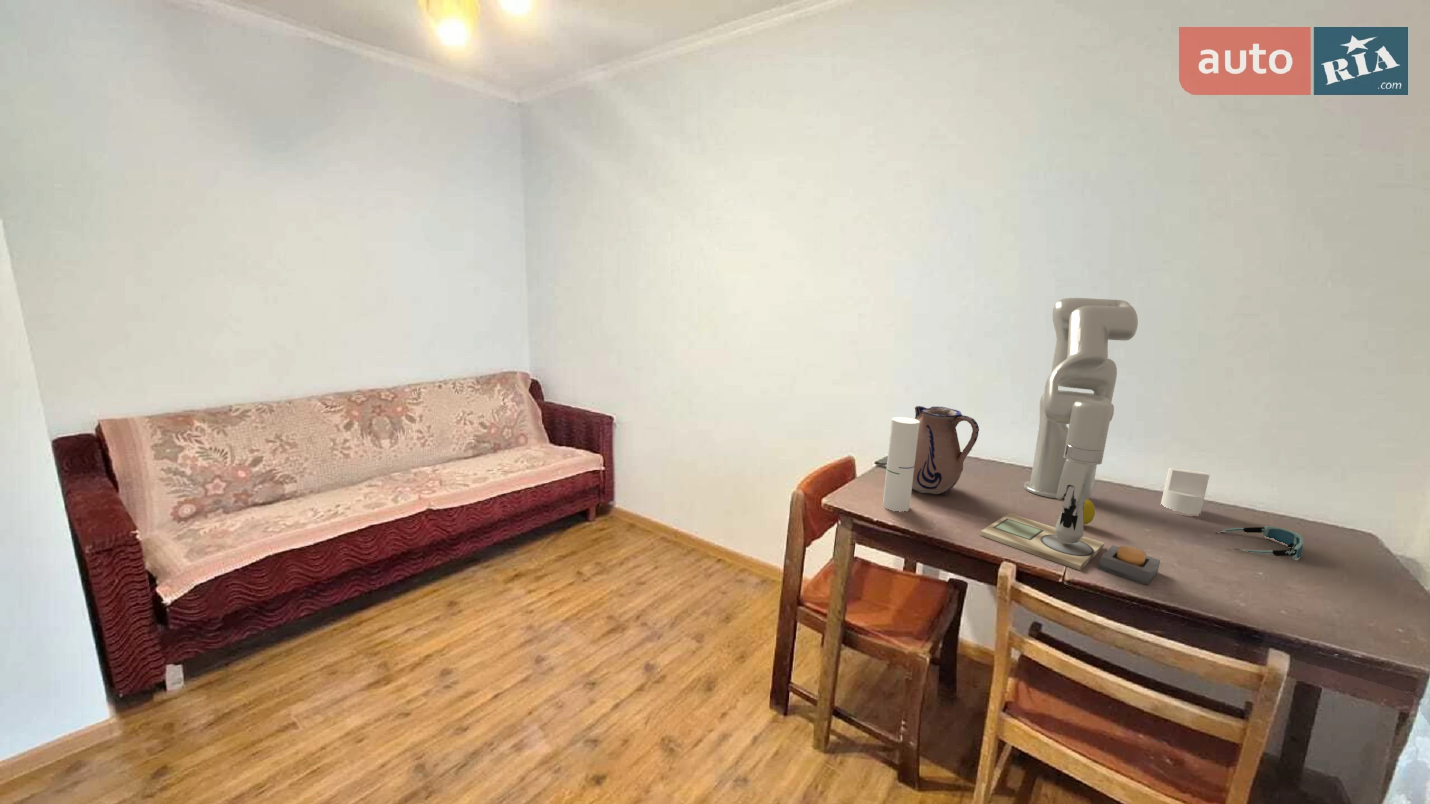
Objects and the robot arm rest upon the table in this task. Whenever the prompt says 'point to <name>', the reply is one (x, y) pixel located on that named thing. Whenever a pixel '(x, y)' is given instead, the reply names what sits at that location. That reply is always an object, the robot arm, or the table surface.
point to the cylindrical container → (900, 463)
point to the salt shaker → (1071, 528)
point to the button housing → (1129, 567)
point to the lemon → (1088, 512)
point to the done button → (1131, 555)
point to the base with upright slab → (1185, 490)
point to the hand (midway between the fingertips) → (1069, 526)
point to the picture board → (1042, 541)
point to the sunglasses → (1280, 535)
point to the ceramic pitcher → (939, 449)
